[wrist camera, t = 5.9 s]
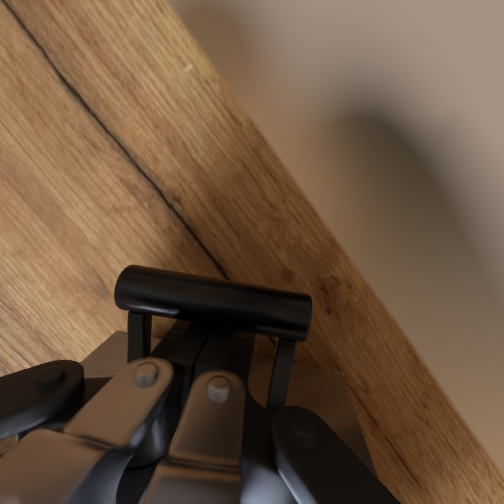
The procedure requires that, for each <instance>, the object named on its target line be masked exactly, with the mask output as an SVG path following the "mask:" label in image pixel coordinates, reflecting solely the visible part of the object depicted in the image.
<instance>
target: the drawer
mask: <svg viewBox="0 0 504 504" xmlns="http://www.w3.org/2000/svg"><path fill="white" fill-rule="evenodd" d="M114 299H115V303H116V305H117V307H119V308H120V309H122V310H127V311H129V312H128V332H123V331H116V332H115V333H114V334H112V335H111V336H110V337H109V338H108V339H107V340H106V341H104V342H103V343H102V344H101V345H100V346H99V347H98V348H96V349H95V350H94V351H93V352H92V353H91V354H90V355H88V356H87V357H86V358H85V359H84V360H83V361H81V362H80V364H81V365H82V366H83V368H84V378H98V377H113V376H115V375H116V374H117V373H118V372H119V371H120V370H121V369H122V368H123V367H124V366H125V365H127V364H128V363H130V362H132V361H134V360H137V359H140V358H145V357H148V356H149V355H150V354H151V352H152V351H153V350H154V349H155V347H156V346H157V345H158V343H159V342H160V341H161V340H162V339H161V338H155V337H151V330H152V315H155V316H160V317H166V318H171V319H177V320H182V321H188V322H193V323H199V324H205V325H210V326H216V327H221V328H227V329H232V330H238V331H243V332H249V333H254V334H260V335H265V336H271V337H277V343H276V349H275V354H274V360H273V359H268V358H262V357H257V356H252V362H251V368H250V374H249V380H248V389H249V392H250V394H251V396H252V397H253V398H254V400H255V401H256V402H257V403H259V404H260V405H261V406H263V407H265V408H266V409H268V410H270V411H272V412H274V413H276V412H277V411H278V410H279V409H281V408H283V407H286V406H300V407H304V408H306V409H309V410H311V411H313V412H314V413H316V414H317V415H318V416H320V417H321V418H322V419H323V420H324V421H325V422H326V424H327V425H328V426H329V427H330V428H331V429H332V430H333V431H334V432H335V433H336V434H337V435H338V436H339V438H340V439H341V440H342V441H343V442H344V443H345V444H346V445H347V446H348V447H349V448H350V449H351V450H352V452H353V453H354V454H355V455H356V456H357V457H358V458H359V459H360V460H361V461H362V462H363V463H364V464H365V466H366V467H367V468H368V469H369V470H370V471H371V472H372V473H373V474H374V475H375V476H376V477H377V474H376V471H375V468H374V465H373V462H372V459H371V456H370V453H369V450H368V447H367V444H366V441H365V438H364V435H363V432H362V429H361V426H360V423H359V420H358V417H357V414H356V411H355V408H354V405H353V403H352V400H351V397H350V394H349V391H348V388H347V385H346V382H345V379H344V376H343V373H342V372H337V371H332V370H327V369H321V368H316V367H311V366H305V365H300V364H295V363H293V362H294V357H295V352H296V347H297V341H299V342H305V341H306V339H307V337H308V334H309V331H310V326H311V319H312V298H311V295H309V294H307V293H301V292H295V291H289V290H283V289H277V288H271V287H265V286H259V285H253V284H247V283H241V282H235V281H229V280H223V279H217V278H211V277H205V276H199V275H193V274H187V273H181V272H175V271H170V270H164V269H158V268H152V267H146V266H140V265H129V266H127V267H126V268H125V269H124V270H123V271H122V272H121V274H120V275H119V277H118V280H117V282H116V286H115V291H114ZM175 433H176V432H175ZM174 436H175V434H174ZM173 439H174V437H173ZM173 439H172V441H171V443H170V446H169V449H168V453H169V451H170V448H171V445H172V442H173ZM16 443H17V439H16V434H15V435H13V436H11V437H9V438H6V439H4V440H2V441H0V455H2V454H4V453H6V452H7V451H8V450H9V449H11V448H12V447H13V446H14V445H15V444H16ZM377 478H378V477H377Z"/></svg>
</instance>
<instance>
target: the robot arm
mask: <svg viewBox="0 0 504 504" xmlns="http://www.w3.org/2000/svg"><path fill="white" fill-rule="evenodd" d="M255 336H256V334H254V333H249V332H243V331H238V330H232V329H227V328H221V327H216V326H210V325H205V324H199V323H193V322H188V321H182V320H177V321H176V322H175V323H174V324H173V326H172V327H171V329H169V331H168V332H167V333H166V335H165V336H164V337H163V338H162V340H161V341H160V342H159V343H158V345H157V346H156V347H155V349H154V350H153V351H152V352H151V354H150V355H149V356H148V357H145V358H140V359H137V360H134V361H132V362H130V363H128V364H127V365H125V366H124V367H123V368H122V369H121V370H120V371H119V372H118V373H117V374H116V375H115V376H113V377H98V378H84V368H83V366H82V365H81V364H80V363H78V362H76V361H72V360H56V361H51V362H47V363H44V364H40V365H37V366H34V367H31V368H28V369H24V370H21V371H18V372H15V373H12V374H9V375H5V376H2V377H0V441H2V440H4V439H6V438H9V437H11V436H13V435H15V434H16V439H17V443H16V444H15V445H14V446H13V447H12V448H11V449H9V450H8V451H7V452H6V453H4V454H2V455H0V504H401V503H400V502H399V501H398V500H397V499H396V498H395V497H394V496H393V495H392V494H391V492H390V491H389V490H388V489H387V488H386V487H385V486H384V485H383V484H382V483H381V482H380V481H379V480H378V478H377V477H376V476H375V475H374V474H373V473H372V472H371V471H370V470H369V469H368V468H367V467H366V466H365V464H364V463H363V462H362V461H361V460H360V459H359V458H358V457H357V456H356V455H355V454H354V453H353V452H352V450H351V449H350V448H349V447H348V446H347V445H346V444H345V443H344V442H343V441H342V440H341V439H340V438H339V436H338V435H337V434H336V433H335V432H334V431H333V430H332V429H331V428H330V427H329V426H328V425H327V424H326V422H325V421H324V420H323V419H322V418H321V417H320V416H318V415H317V414H316V413H314V412H313V411H311V410H309V409H306V408H304V407H300V406H286V407H283V408H281V409H279V410H278V411H277V412H276V413H274V412H272V411H270V410H268V409H266V408H265V407H263V406H261V405H260V404H259V403H257V402H256V401H255V400H254V398H253V397H252V396H251V394H250V392H249V389H248V380H249V374H250V368H251V362H252V356H253V349H254V343H255ZM175 432H176V433H175ZM174 434H175V436H174ZM173 437H174V439H173ZM172 439H173V442H172V445H171V448H170V451H169V453H168V449H169V446H170V443H171V441H172Z"/></svg>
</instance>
